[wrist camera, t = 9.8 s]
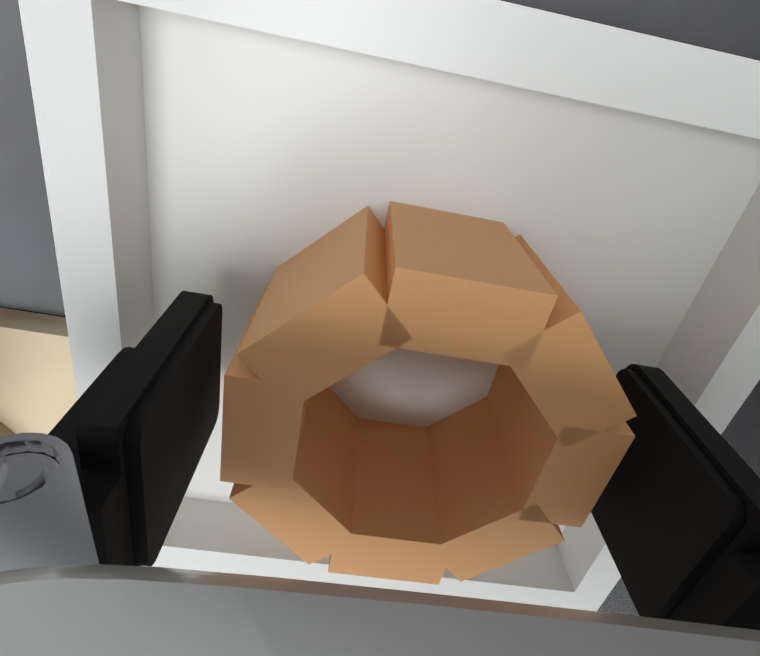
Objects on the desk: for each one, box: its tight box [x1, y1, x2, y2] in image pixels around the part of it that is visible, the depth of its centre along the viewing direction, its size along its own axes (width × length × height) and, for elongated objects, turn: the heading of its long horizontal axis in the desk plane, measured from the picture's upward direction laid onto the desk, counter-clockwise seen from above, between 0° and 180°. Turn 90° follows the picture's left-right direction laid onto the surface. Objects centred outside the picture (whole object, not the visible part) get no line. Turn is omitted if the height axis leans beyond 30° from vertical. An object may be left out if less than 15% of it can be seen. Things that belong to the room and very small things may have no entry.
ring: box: [220, 201, 637, 585], centre depth 10 cm, size 7×7×4 cm
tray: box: [18, 0, 760, 611], centre depth 11 cm, size 14×14×2 cm
